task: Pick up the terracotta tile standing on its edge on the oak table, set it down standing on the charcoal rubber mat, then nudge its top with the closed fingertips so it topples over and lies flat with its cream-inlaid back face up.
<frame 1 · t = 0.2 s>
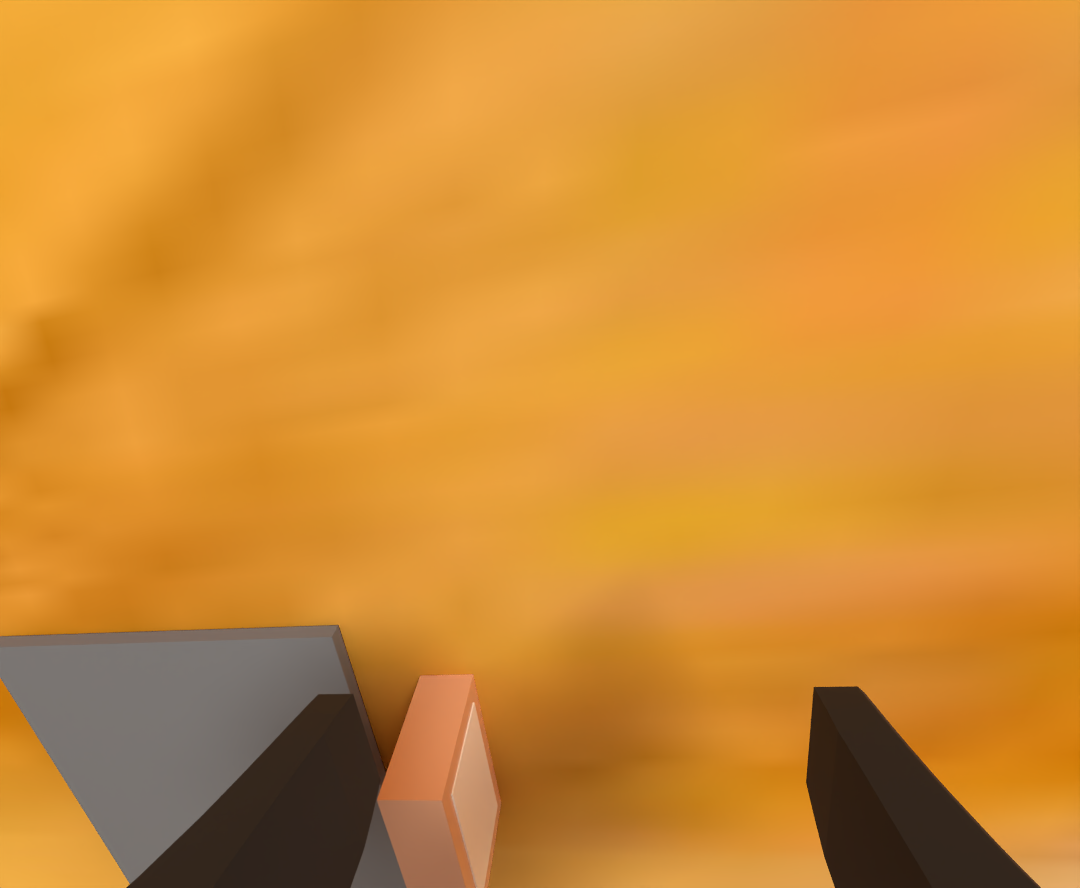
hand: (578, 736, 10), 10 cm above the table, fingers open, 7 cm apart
mat: (244, 810, 28), on the table
tile: (463, 741, 25), on the table
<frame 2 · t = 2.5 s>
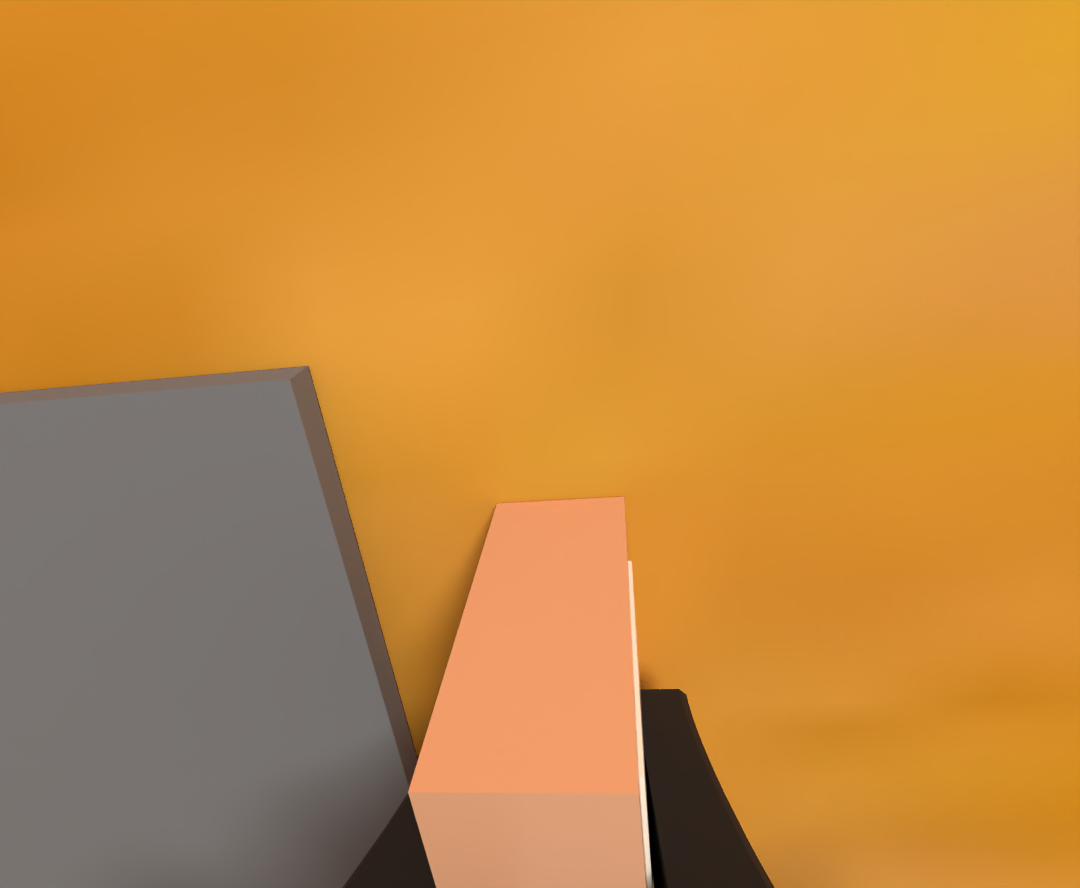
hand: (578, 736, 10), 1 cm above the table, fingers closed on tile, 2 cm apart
mat: (134, 813, 14), on the table
tile: (579, 670, 11), on the table, touching gripper
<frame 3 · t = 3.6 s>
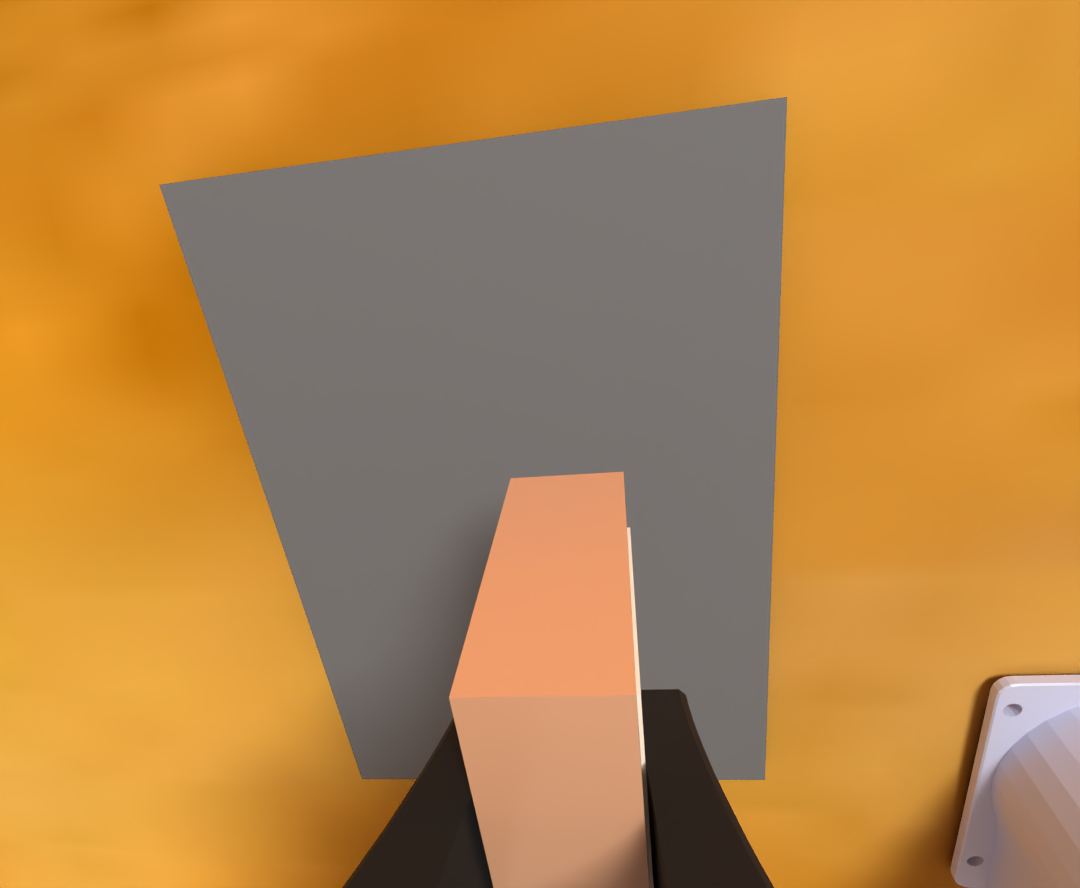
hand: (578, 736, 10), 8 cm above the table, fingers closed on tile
mat: (517, 522, 18), on the table
tile: (583, 630, 13), point 6 cm above the table, touching gripper
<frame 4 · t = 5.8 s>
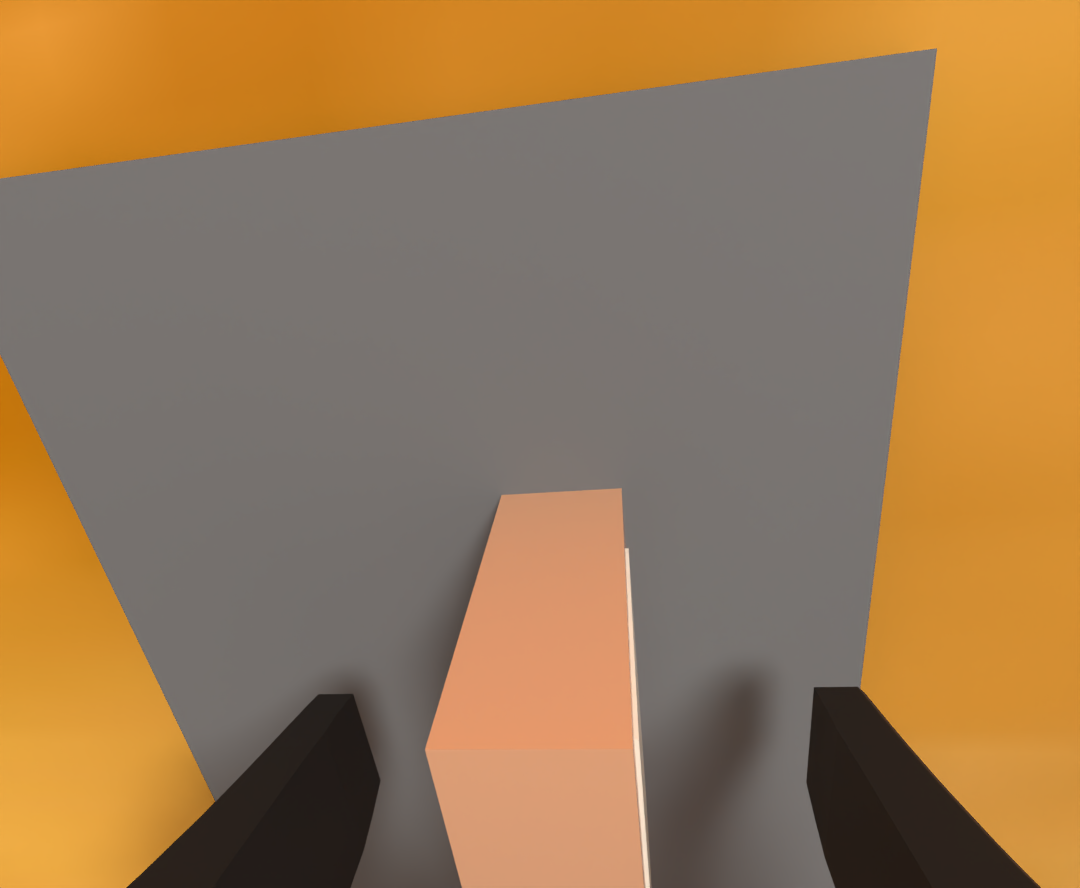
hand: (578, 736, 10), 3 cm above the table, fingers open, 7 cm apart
mat: (491, 666, 13), on the table
tile: (579, 654, 12), point 1 cm above the table, touching mat
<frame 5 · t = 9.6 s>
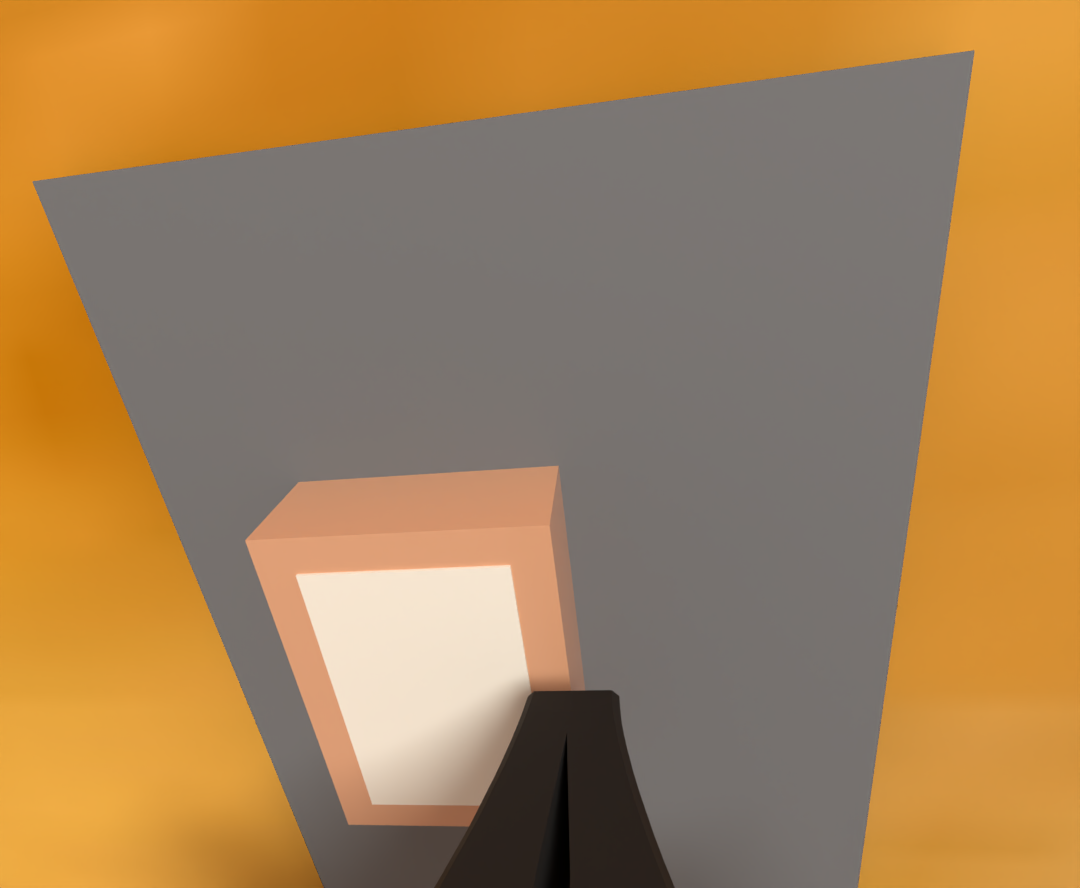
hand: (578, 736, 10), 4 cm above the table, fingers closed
mat: (539, 632, 14), on the table
tile: (574, 654, 12), point 2 cm above the table, tilted 90°, touching mat
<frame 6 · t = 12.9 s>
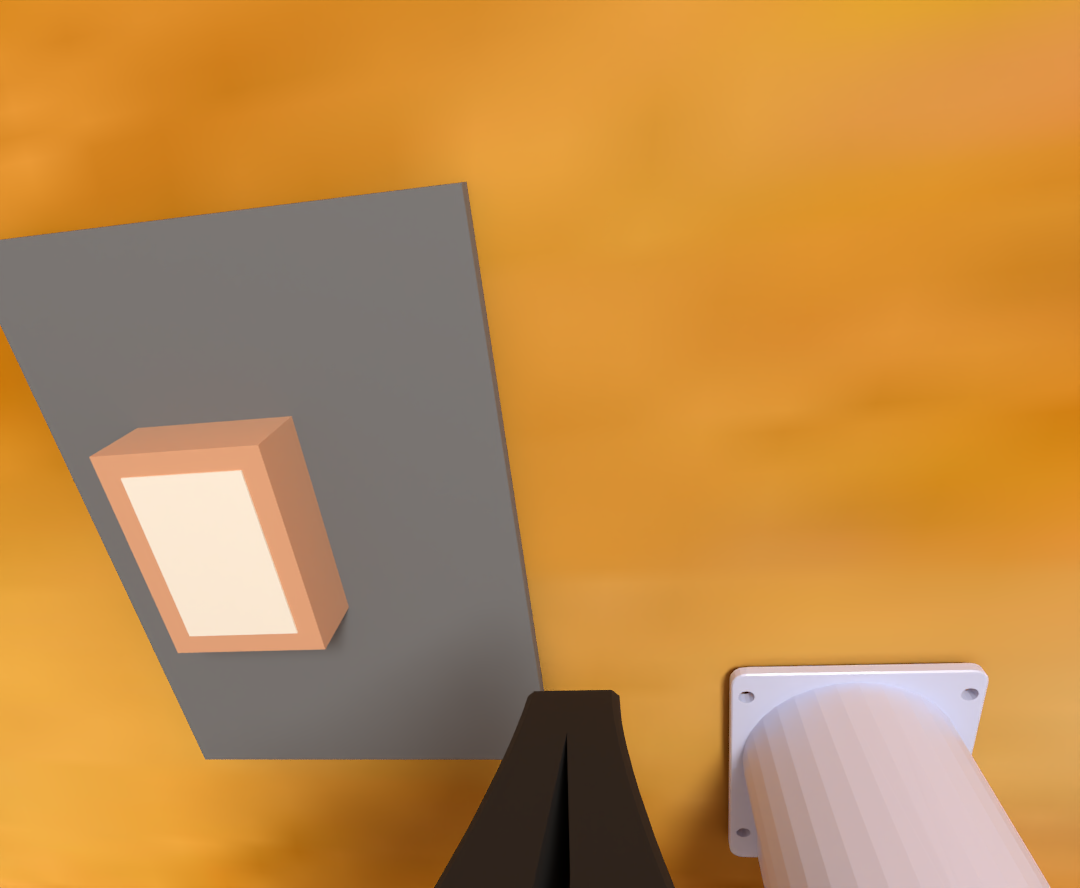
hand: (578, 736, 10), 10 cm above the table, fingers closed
mat: (309, 531, 21), on the table
tile: (308, 535, 19), point 2 cm above the table, tilted 90°, touching mat
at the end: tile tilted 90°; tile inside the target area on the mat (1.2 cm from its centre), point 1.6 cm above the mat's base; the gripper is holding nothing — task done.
